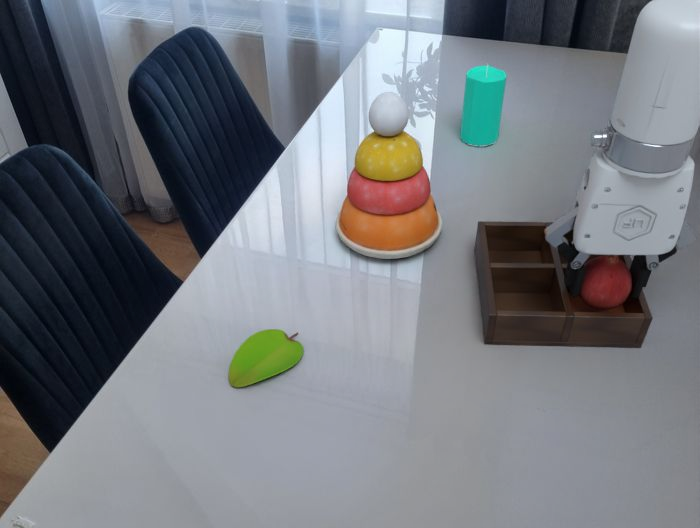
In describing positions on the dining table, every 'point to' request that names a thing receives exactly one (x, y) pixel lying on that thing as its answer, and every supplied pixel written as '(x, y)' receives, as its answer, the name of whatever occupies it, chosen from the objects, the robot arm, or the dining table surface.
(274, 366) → the decorative leaf
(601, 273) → the onion
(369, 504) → the dining table surface
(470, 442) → the dining table surface
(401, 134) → the stacking toy
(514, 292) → the grid
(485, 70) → the candle
